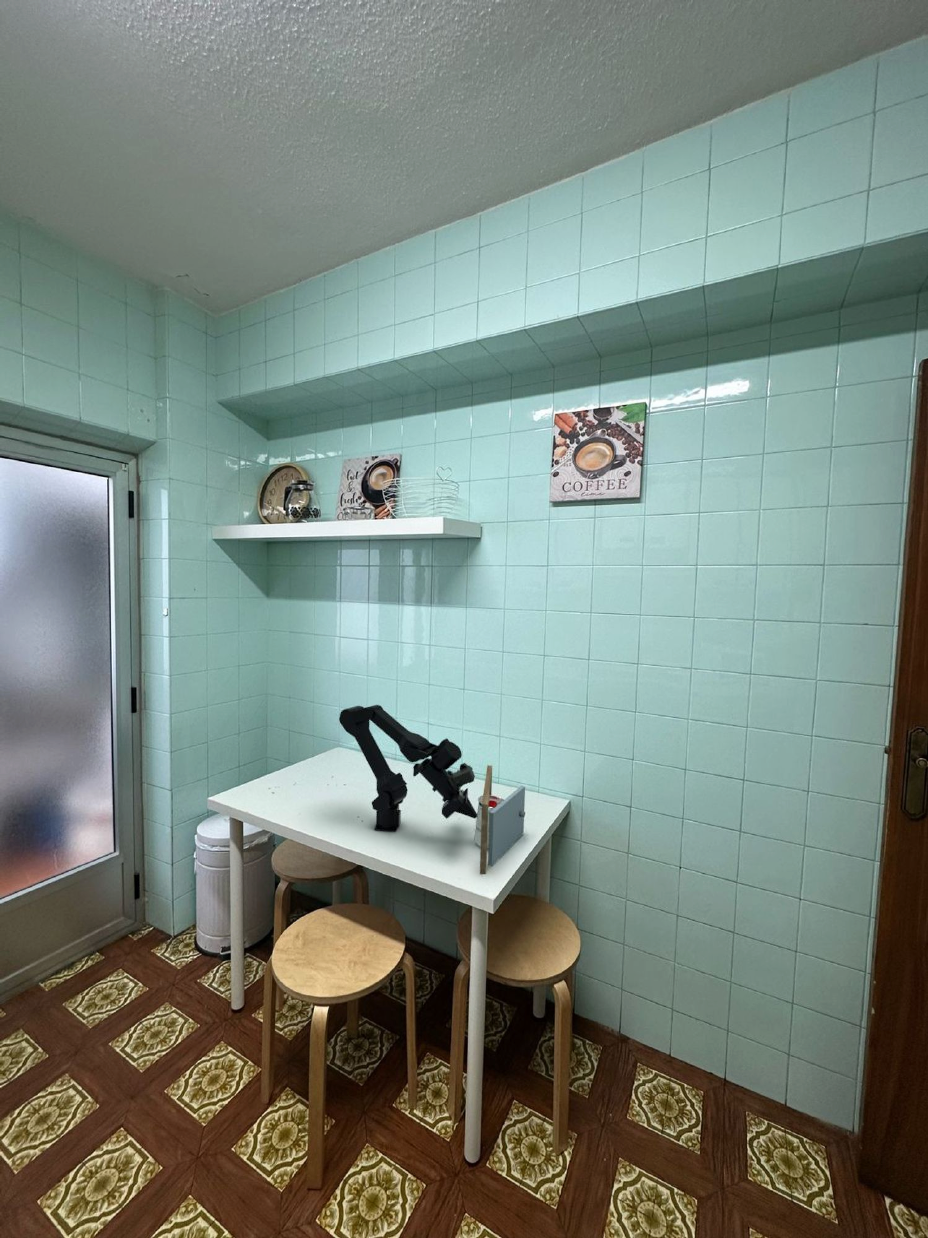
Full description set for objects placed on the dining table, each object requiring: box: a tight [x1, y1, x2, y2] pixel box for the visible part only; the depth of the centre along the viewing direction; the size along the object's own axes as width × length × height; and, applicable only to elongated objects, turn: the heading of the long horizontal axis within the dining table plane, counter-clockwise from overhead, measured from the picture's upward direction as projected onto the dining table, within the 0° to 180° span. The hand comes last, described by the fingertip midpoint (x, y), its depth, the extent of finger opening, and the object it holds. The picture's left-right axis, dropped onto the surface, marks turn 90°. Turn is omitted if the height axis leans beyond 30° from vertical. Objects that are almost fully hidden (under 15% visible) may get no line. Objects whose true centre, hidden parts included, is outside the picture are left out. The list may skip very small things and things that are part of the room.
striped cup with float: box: [474, 794, 505, 849], centre depth 143 cm, size 10×8×12 cm
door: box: [487, 785, 526, 867], centre depth 141 cm, size 2×21×14 cm, turn 151°
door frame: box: [479, 764, 493, 875], centre depth 142 cm, size 2×29×18 cm, turn 175°
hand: (476, 817), depth 144 cm, fingers closed, pressing on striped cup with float
